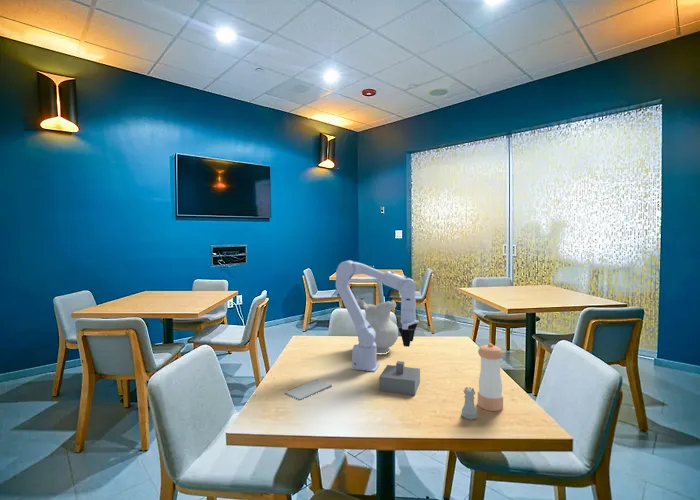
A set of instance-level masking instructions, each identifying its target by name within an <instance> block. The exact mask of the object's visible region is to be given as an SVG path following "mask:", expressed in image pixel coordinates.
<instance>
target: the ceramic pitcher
mask: <svg viewBox="0 0 700 500" xmlns="http://www.w3.org/2000/svg"><path fill="white" fill-rule="evenodd" d="M364 298H365V297H364V296H357V298H355V299H356V301H357V303H358V305H359V306H360V305H362V306H363V310H364V313H365V316H364V317H365V319H366V320H367V321H368V322H369V324H370V326H371V327H372V328H374V329H375V331H376V338H375V339H374V341H375V343H376V353H386V352H388V351H389V350H390V348H391V347H392V346H394V345H395V343H396V342H397V341H398V338H399V327H398V326H397V324H396V323H395V322H393V320H392V319H391V318H390V317H391V316H390V315H391V311H392V310H393V309H396V307H397V303H396V301H395V300H394V299H391V300H387V301H385V302H384V301H382V302H380V303H378V304H376V305H375V304H373V303H366V302H365V300H364ZM356 334H357V333H356ZM357 336H358V334H357ZM389 352H390V351H389Z"/></svg>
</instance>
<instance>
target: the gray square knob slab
mask: <svg viewBox="0 0 700 500" xmlns="http://www.w3.org/2000/svg"><path fill="white" fill-rule="evenodd" d="M378 379H379V388H378V389H379V392H387V393H395V394H402V395H410V396H416V394H417V391H418V388H419V385H420V383H421V368H418V367H417V368H416V367H408V366H405V361H402V360H401V361H400V360H398V361H396V365H391V364H387V365H386V367H385V368H384V369H383V370H382V372H381V373H380V375H379V377H378Z"/></svg>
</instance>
